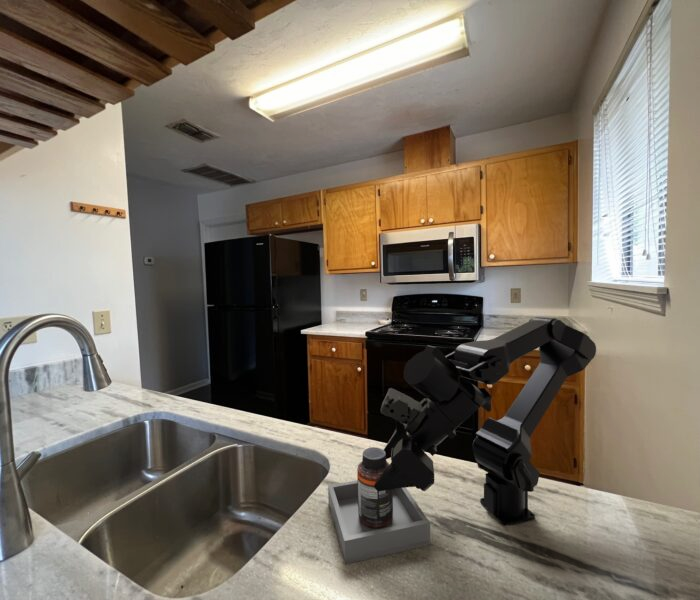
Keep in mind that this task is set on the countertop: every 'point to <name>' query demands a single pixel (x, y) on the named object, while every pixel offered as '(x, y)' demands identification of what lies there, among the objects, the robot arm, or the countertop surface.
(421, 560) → the countertop surface
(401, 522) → the tray
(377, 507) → the supplement bottle
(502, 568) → the countertop surface
